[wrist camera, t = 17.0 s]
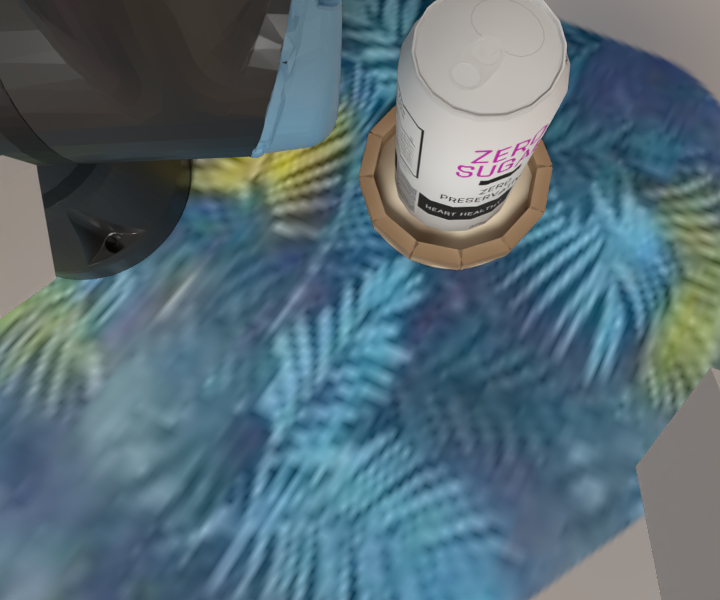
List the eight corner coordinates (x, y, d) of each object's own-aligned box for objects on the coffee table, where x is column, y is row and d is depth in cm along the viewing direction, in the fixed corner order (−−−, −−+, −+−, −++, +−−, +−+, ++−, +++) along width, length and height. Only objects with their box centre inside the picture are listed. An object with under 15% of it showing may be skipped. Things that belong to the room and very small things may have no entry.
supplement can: (440, 107, 41) (469, -61, 26) (532, 171, 39) (617, 32, 25) (371, 189, 40) (361, 62, 25) (463, 257, 39) (509, 166, 24)
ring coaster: (345, 249, 40) (342, 240, 38) (384, 88, 42) (383, 72, 40) (525, 286, 39) (532, 279, 36) (555, 119, 41) (564, 104, 39)
